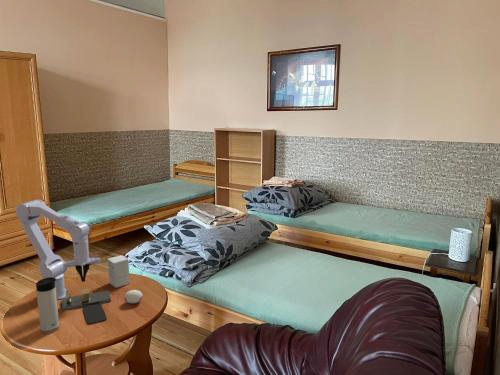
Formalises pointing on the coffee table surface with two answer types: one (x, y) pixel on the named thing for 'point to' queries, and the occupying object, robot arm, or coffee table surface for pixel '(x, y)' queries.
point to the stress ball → (133, 296)
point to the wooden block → (85, 294)
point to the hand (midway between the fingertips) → (83, 280)
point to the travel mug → (47, 305)
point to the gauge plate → (77, 301)
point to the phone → (94, 314)
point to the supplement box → (118, 271)
